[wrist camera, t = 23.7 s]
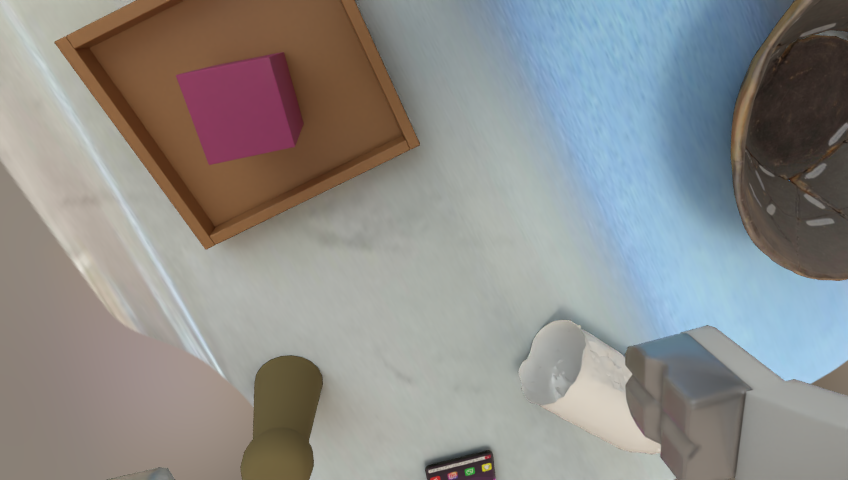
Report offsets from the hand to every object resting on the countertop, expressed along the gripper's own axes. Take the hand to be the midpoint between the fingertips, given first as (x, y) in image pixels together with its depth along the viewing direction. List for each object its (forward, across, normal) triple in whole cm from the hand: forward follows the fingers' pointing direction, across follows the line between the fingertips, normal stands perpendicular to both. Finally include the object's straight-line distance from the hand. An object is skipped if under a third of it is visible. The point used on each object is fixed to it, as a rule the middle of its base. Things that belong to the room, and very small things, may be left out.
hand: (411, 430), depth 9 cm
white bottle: (+31, -18, +28) cm, 46 cm away
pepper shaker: (+31, +11, +21) cm, 40 cm away
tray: (+31, +6, -4) cm, 32 cm away
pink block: (+30, +6, -4) cm, 31 cm away
